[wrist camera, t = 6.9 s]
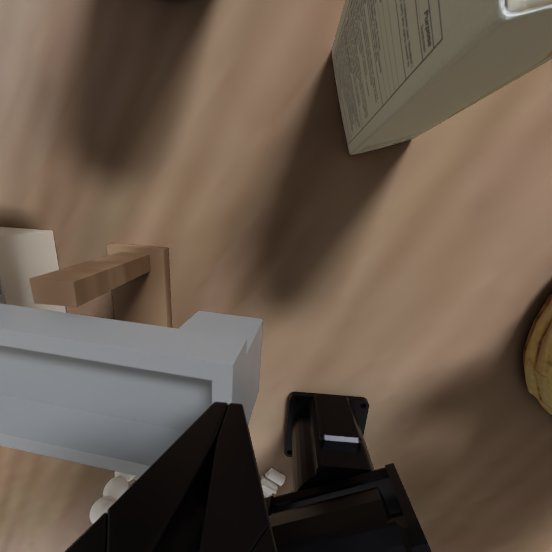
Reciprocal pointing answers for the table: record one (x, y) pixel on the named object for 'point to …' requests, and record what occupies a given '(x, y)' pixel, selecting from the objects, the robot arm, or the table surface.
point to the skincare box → (429, 61)
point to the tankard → (540, 356)
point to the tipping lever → (118, 382)
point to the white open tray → (25, 264)
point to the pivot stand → (115, 284)
